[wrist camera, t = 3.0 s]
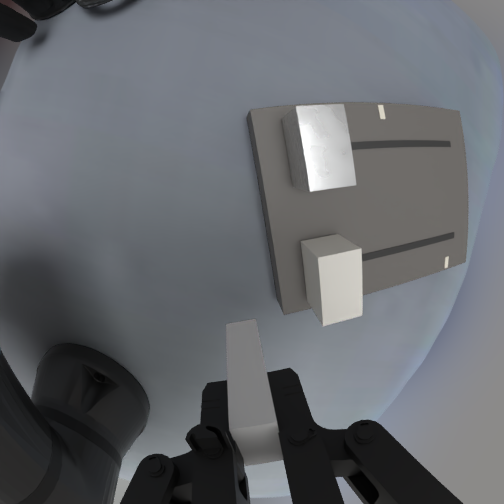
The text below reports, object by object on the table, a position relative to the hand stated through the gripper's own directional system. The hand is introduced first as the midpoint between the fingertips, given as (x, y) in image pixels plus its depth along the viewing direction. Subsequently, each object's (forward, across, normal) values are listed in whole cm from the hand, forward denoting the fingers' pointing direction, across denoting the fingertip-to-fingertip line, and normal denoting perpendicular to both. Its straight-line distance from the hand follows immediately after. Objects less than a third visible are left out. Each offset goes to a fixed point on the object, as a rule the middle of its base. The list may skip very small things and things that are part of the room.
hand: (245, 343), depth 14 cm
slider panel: (+11, +14, +4) cm, 18 cm away
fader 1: (+7, +7, +9) cm, 13 cm away
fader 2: (+8, +7, 0) cm, 10 cm away
